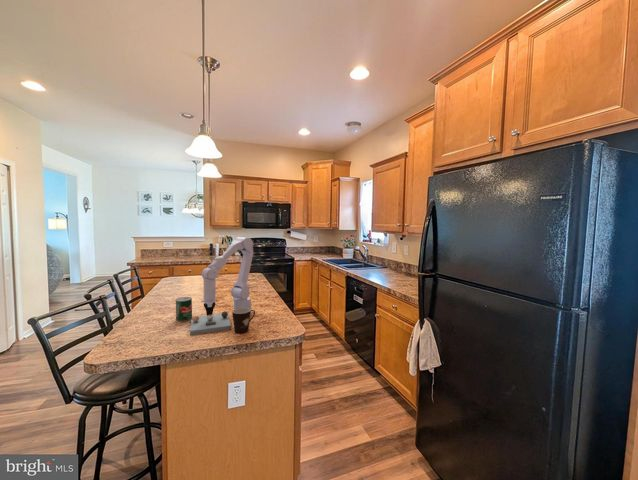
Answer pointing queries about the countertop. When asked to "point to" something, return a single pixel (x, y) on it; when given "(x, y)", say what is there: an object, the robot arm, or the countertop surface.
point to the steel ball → (210, 317)
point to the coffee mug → (242, 320)
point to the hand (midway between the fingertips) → (209, 317)
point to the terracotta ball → (195, 318)
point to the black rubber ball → (224, 314)
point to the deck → (210, 324)
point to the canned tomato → (183, 309)
